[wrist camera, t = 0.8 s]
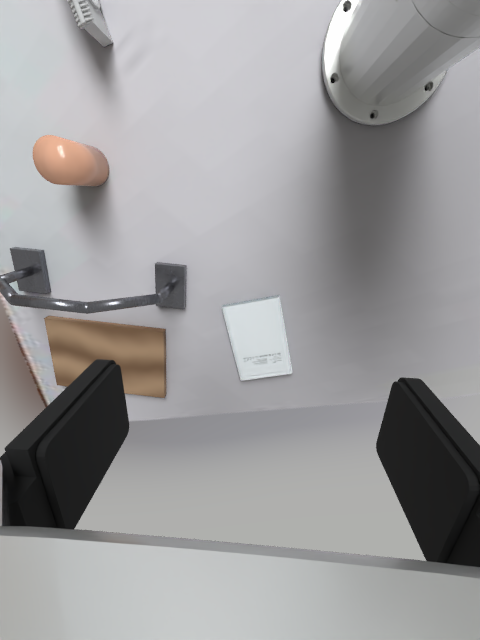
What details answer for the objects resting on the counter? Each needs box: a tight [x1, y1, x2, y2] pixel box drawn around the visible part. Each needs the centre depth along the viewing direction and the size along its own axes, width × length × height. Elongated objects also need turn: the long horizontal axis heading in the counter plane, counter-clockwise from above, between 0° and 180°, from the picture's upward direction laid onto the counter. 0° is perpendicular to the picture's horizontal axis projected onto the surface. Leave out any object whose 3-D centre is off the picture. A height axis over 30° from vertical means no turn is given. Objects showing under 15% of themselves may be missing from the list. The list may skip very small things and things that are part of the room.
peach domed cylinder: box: [33, 135, 109, 186], centre depth 33 cm, size 4×4×7 cm
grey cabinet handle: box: [0, 247, 186, 314], centre depth 36 cm, size 6×24×12 cm, turn 85°
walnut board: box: [44, 316, 166, 398], centre depth 46 cm, size 12×18×1 cm, turn 85°
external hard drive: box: [222, 295, 292, 381], centre depth 43 cm, size 2×8×12 cm
